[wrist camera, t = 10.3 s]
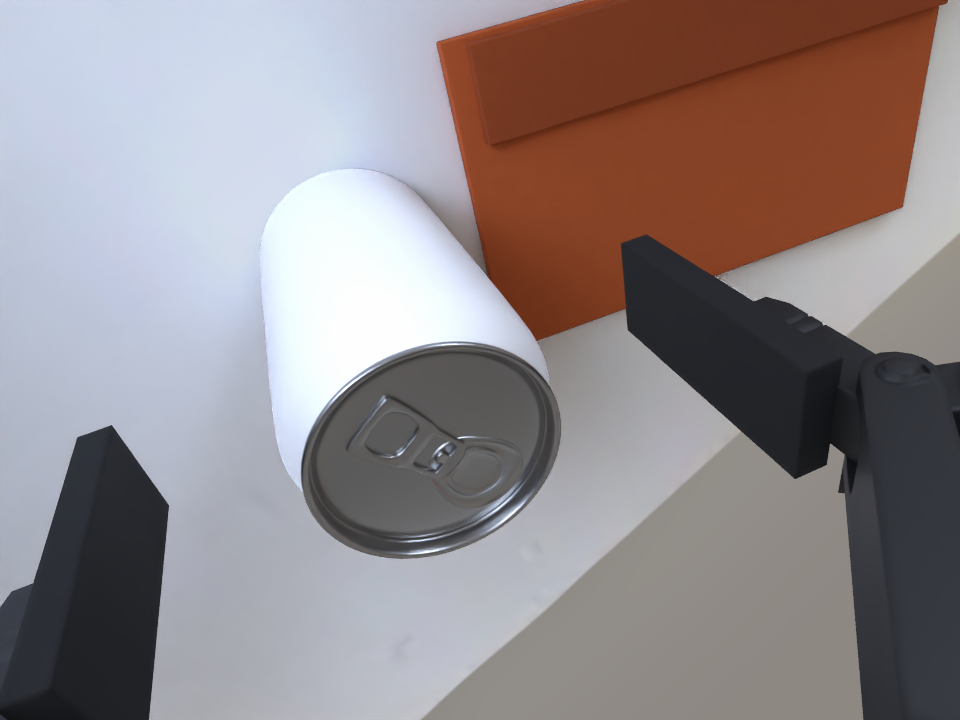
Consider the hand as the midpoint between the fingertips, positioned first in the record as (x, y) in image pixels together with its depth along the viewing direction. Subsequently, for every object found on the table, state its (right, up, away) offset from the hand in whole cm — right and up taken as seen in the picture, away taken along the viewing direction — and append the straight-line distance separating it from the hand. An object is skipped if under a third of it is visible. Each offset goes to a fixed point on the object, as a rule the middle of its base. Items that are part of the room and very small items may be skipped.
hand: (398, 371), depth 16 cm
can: (-3, +4, +7) cm, 9 cm away
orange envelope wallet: (+11, +9, +9) cm, 17 cm away
